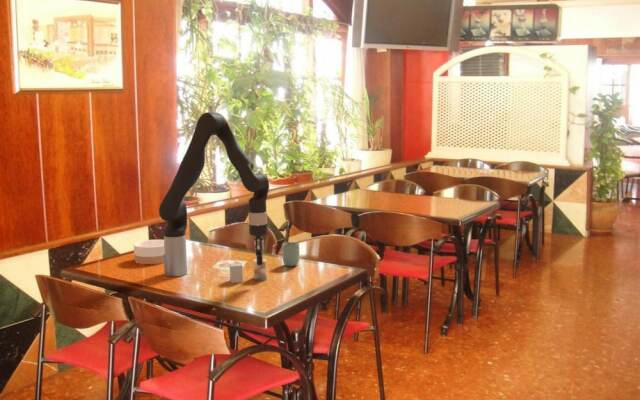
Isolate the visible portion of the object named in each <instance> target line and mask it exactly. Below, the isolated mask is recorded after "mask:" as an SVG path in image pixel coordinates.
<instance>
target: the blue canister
mask: <svg viewBox="0 0 640 400" xmlns="http://www.w3.org/2000/svg"><path fill="white" fill-rule="evenodd" d="M262 262H263V263H262V265H257V258H254V259H253V274H254V275H253V276H254V281H267V277H268V274H267V268H268V267H267V258H262Z"/></svg>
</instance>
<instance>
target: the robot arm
mask: <svg viewBox="0 0 640 400" xmlns="http://www.w3.org/2000/svg"><path fill="white" fill-rule="evenodd" d="M211 136H216V137H217V138H218V139H219V140H220V141H221V143H222V144H223V146H224V148H225V151H226V154H227V157H228V160H229V162H230V163H231V165H232V166H233V168H234V169H235V171H237V173H238V176H239V178H240V180H241V181H240V182H241V183H242V184H243V185H242V186H243V187H244V188H245V189H246V190H247V191H248V192H250V193H253V195H252V196H251V197H250V198H249V199H248V231H249V232H248V233H249V235H250V236H251V237H253V236H255V238H254V239H253V245H254V252H255V256H256V259H257V265H262V263H263V262H262V259H263V255H264V253H263V252H264V243H265V238H264V237H263V236H266V235H268V233H269V230H268V229H269V227H268V223H269V222H268V214H267V199H268V194H269V190H270V189H269V188H270V181H269V178H268V176H267V175H266V174H265V173H262V172H259V173H254V172H253V169H254V163H253V161H252V160H251V158H250V157H249V156H248V154H247V153H246V152H245V151H244V149H243V148H242V146H241V145H240V143H239V142H238V140H237V137H236V136H235V134H234V132H233V131H232V129H231V127H230V124H229V123H228V121H227V119H226V118H225V116H224V115H222V114H221V113H219V112H208V111H207V112H204V113H203V114H200V116H199V117H198V119H197V122H196V126H195V128H194V131H193V135H192V137H191V141H190V142H189V144H188V146H187V149H186V151H185V154H184V155H183V157H182V160H181V162H180V165H179V167H178V169H177V171H176V173H175V176H174V178H173V179H172V183H171V185H170V188H169V189H168V191H167V193H165V196H164V197H163V199H162V201H161V203H160V205H159V207H158V212H159V213H158V214H159V217H160V218H161V220H163V221H165V222H167V225H166V226H165V228H163V240H164V249H165V253H164V263H163V265H164V276H165V277H182V276H183V277H184V276H186V275H187V274H188V264H187V263H188V261H187V257H188V256H187V243H186V242H187V241H186V240H187V237H186V230H187V227H188V210H187V209H188V208H187V204H186V202H185V201H184V200H183V199H184V198H185V196H186V194H187V193H188V192H189V191H190V190H191V188H192V187H193V186H194V185H195V184H196V182H197V181H198V180H199V177H200V176H201V173H202V171H203V170H204V167H205V164H206V163H205V162H206V153H205V152H206V147H207V144H208V143H209V140H210V139H211Z"/></svg>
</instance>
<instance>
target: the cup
mask: <svg viewBox="0 0 640 400" xmlns="http://www.w3.org/2000/svg"><path fill="white" fill-rule="evenodd" d="M281 256H282V263H283V264H284V266H287V267H295V266H298V264H299V262H300V243H299V242H293V241H289V242H287V241H286V242H284V243H282V244H281Z"/></svg>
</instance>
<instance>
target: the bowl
mask: <svg viewBox="0 0 640 400" xmlns="http://www.w3.org/2000/svg"><path fill="white" fill-rule="evenodd" d="M164 253H165V249H164V239H146V240H140V241H137V242H135V243H134V244H133V254H134V263H135V262H137V263H141V264H140V265H142V264H154V265H158V264H157V263H162V264H164ZM137 263H136V264H137Z"/></svg>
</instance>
